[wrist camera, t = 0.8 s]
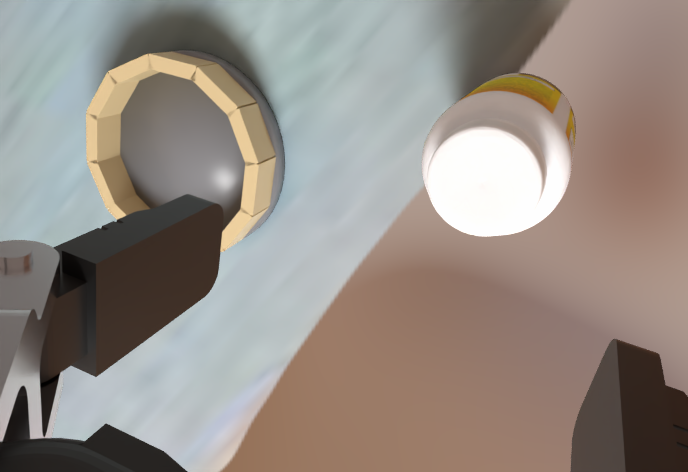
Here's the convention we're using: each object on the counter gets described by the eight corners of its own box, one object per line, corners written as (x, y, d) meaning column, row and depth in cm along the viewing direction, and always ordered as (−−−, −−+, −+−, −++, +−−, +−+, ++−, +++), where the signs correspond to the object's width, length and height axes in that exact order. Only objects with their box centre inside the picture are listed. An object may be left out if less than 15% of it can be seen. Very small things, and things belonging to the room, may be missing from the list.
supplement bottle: (440, 107, 30) (375, 148, 21) (543, 49, 27) (520, 67, 19) (490, 202, 31) (449, 280, 22) (596, 154, 28) (599, 220, 19)
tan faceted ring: (119, 31, 36) (82, 32, 33) (297, 75, 32) (271, 81, 30) (117, 212, 41) (84, 226, 38) (271, 267, 37) (247, 286, 35)
